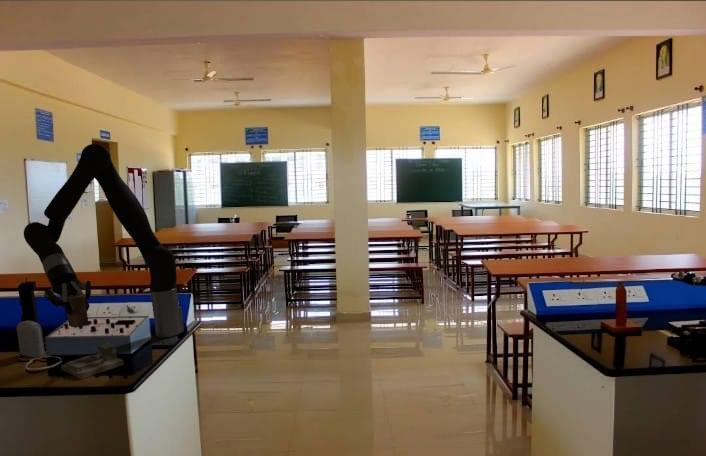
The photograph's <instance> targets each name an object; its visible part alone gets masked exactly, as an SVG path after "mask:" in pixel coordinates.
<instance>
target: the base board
mask: <svg viewBox="0 0 706 456" xmlns="http://www.w3.org/2000/svg"><path fill="white" fill-rule="evenodd" d="M97 350H98V353H97V354H94V355H93V354H91V355H87V356H84V357H81V358H80V357H79V358H77V359H74V360H70V361H68V362H65V364H62V365H61V371H63V372H65V373H67V374H69V375H71V376H73V377H75V378H78V379H80V380H83V379H86V378H88V377H91V376H95V375H97V374H101V373H103V372H106V371H109V370H113V369H115V368H119V367H122V366H124V365H125V362H124V359H121V358H118V355H117V348H116V345H114V344H110V343H109V342H106V343H102V344H100V345H97Z"/></svg>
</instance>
